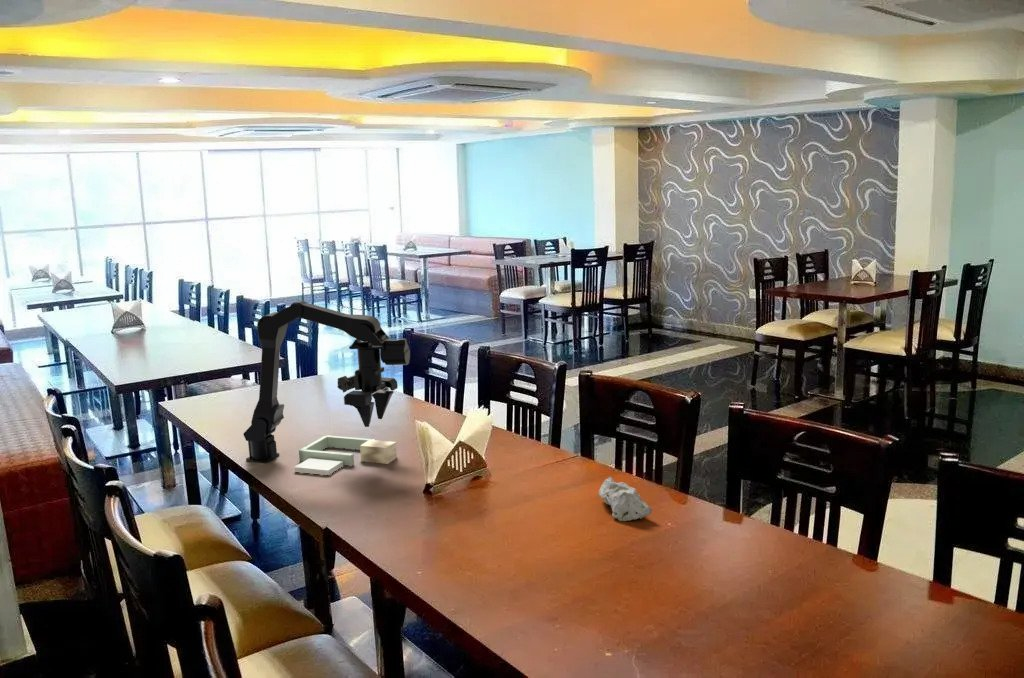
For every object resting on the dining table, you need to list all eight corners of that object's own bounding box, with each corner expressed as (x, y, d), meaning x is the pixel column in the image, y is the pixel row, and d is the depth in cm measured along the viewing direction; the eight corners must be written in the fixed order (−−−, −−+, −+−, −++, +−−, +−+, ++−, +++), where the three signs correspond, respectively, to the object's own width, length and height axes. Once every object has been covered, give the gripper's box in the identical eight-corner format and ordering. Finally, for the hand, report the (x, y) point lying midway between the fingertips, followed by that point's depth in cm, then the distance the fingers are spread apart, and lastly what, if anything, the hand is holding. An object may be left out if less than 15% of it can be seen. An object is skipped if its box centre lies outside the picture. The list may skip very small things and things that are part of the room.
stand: (294, 472, 208) (294, 467, 208) (309, 463, 215) (309, 458, 215) (328, 476, 205) (328, 470, 205) (343, 466, 212) (342, 461, 211)
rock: (586, 501, 184) (586, 473, 183) (614, 496, 187) (613, 468, 186) (623, 527, 170) (622, 497, 169) (652, 520, 173) (652, 491, 172)
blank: (361, 461, 216) (359, 445, 215) (370, 455, 220) (369, 439, 219) (388, 464, 213) (387, 448, 212) (396, 458, 218) (395, 442, 217)
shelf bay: (299, 461, 217) (298, 450, 216) (326, 445, 229) (325, 435, 229) (351, 466, 212) (351, 455, 211) (376, 449, 224) (375, 439, 224)
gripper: (360, 356, 223) (364, 411, 226) (323, 371, 206) (328, 431, 209) (396, 357, 220) (400, 413, 223) (362, 374, 202) (366, 434, 205)
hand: (373, 422), depth 215 cm, fingers open, 7 cm apart
